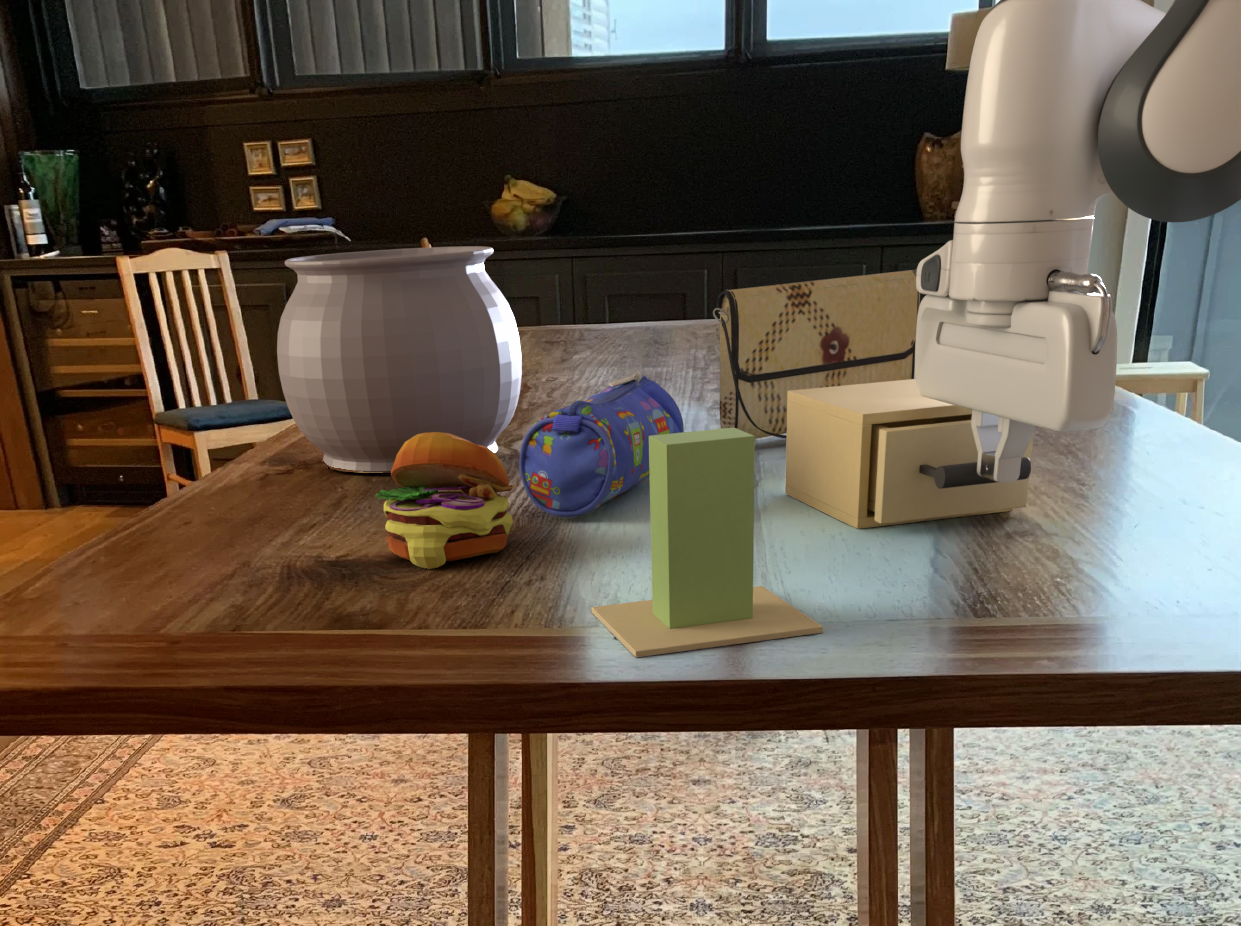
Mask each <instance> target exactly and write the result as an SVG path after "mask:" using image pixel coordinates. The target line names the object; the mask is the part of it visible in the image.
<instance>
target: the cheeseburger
mask: <svg viewBox="0 0 1241 926" xmlns="http://www.w3.org/2000/svg"><path fill="white" fill-rule="evenodd" d="M390 477H391V479H392V481H393V482H394V483H395V484H396V485H397V486H400V487H398V488H392V489H389V490H384V489H380V490H379V492H376V493H375V497H377V500H381V499H384V500H385V501H384V503H383V513H384V516H385V517H386V518H387V521H386V523H385V525H384V528H385V530H386V531H387V534H388V536H387V535H386V542H387V545H388V548H389V551H390V552H392V553H393V554H394V555H396V556H397V557H399V558H401V559H404V560H408V561H410V562H411V564H413V565H415V566H416V567H419V568H421V569H426V568H427V570H433V569H437V568H439V567H441V566H444V565H445V564H446V562H453V561H458V560H462V559H467V558H473V557H479V556H483V555H486V554H487V555H488V554H494V553H498V552H501V551H502V550H503V549H504V548H505V547H506V546H507V541H508V537H509V533H510V531H511V528H512V526H513V523H514V520H513V516H512V515H511V514H510V513H509V512H508V511H507V509H509V507H510V502H509V498H507V497H505V496H504V495H501V494H498V493H501V492H502V493H504V492H511V491H512V490H513V489H514V488H515V487H516V484H510V480H509V477H508V473H507V470H506V468H505V466H504V464H503V462H502V461H501V460H500V458H499V456H498V455H497V454H496V452H495V453H494V452H493V451H491V450H490V449H489V448H487V447H484V446H482V445H476V444H474V443H472V442H470V441H467V440H465V439H463V438H460V437H458V436H455V435H452V434H449V433H441V432H429V433H421V434H417V435H415V436H414V437H412V438H411V439H409V440H407V441H406V442H405V443H404V444H403V446H402V447H401V449H400V450H399V452H398V454H397V456H396V459H395V462H394V465H393V467H392V470H391V474H390Z"/></svg>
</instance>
